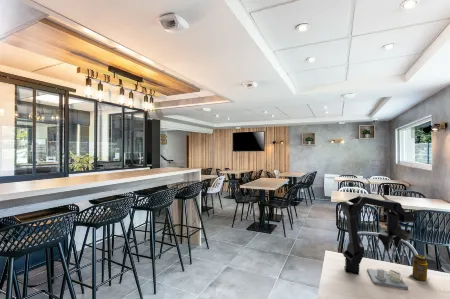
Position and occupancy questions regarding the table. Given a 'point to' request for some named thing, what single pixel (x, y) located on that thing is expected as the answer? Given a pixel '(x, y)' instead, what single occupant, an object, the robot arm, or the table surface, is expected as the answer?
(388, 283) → the post board
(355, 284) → the table surface
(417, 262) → the condiment
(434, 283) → the table surface
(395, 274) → the cream rounded dome
